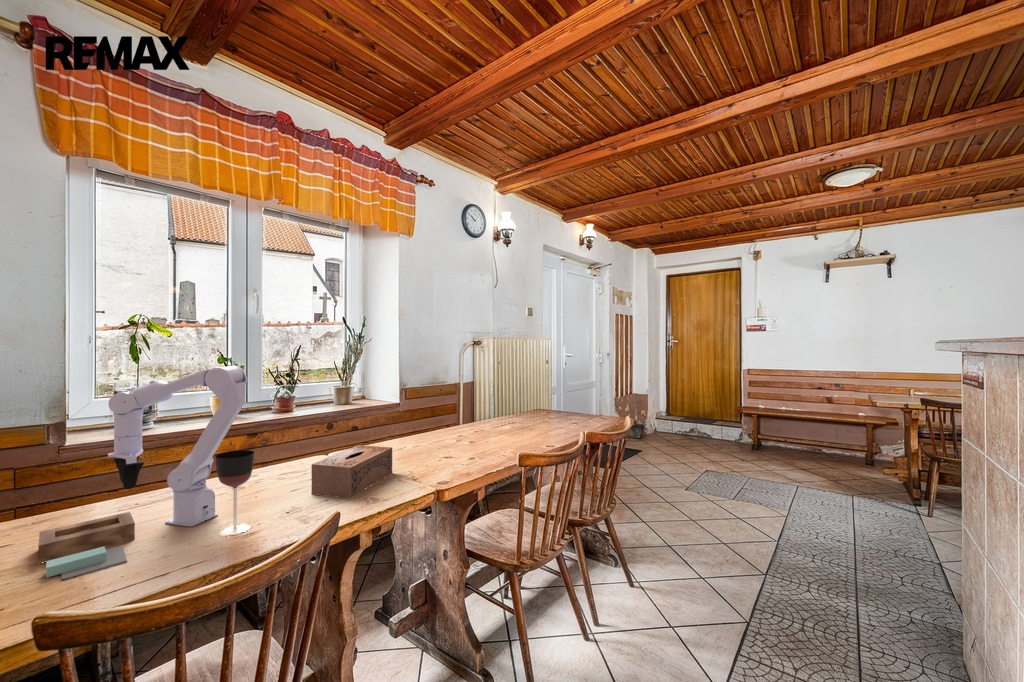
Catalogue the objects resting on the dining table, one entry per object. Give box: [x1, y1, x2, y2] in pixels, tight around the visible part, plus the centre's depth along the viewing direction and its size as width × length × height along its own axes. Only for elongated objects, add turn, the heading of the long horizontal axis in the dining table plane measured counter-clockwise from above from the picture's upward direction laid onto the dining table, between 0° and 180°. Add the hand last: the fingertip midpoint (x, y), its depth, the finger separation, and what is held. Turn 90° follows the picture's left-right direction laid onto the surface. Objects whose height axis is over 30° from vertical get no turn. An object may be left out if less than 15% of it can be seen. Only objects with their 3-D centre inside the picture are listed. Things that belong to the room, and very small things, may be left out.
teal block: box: [45, 546, 107, 578], centre depth 92 cm, size 9×4×2 cm, turn 138°
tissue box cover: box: [311, 444, 393, 499], centre depth 147 cm, size 26×14×10 cm, turn 166°
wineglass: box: [214, 449, 255, 535], centre depth 111 cm, size 8×9×20 cm
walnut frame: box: [37, 511, 136, 565], centre depth 103 cm, size 16×10×4 cm, turn 137°
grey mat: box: [61, 545, 128, 580], centre depth 94 cm, size 10×10×1 cm
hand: (128, 484), depth 115 cm, fingers open, 7 cm apart
